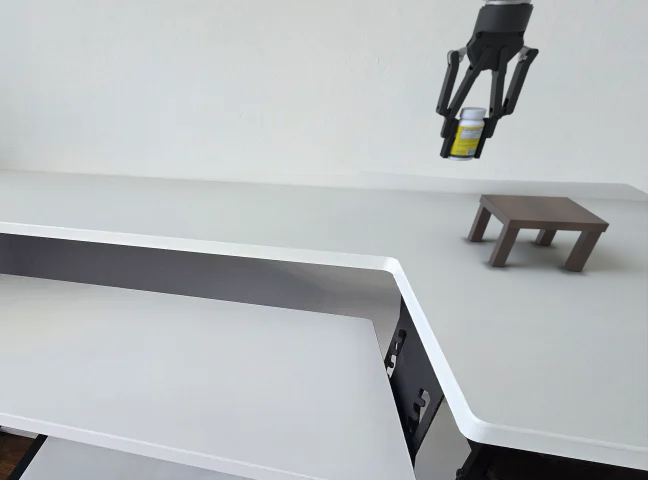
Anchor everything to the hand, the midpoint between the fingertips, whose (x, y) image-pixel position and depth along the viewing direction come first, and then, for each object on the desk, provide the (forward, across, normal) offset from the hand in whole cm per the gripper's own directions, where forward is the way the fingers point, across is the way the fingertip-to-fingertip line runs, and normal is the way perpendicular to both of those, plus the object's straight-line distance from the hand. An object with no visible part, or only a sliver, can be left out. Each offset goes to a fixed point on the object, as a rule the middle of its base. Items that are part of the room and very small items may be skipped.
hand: (459, 156), depth 93 cm
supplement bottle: (+1, 0, 0) cm, 1 cm away
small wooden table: (+8, +4, -27) cm, 29 cm away
